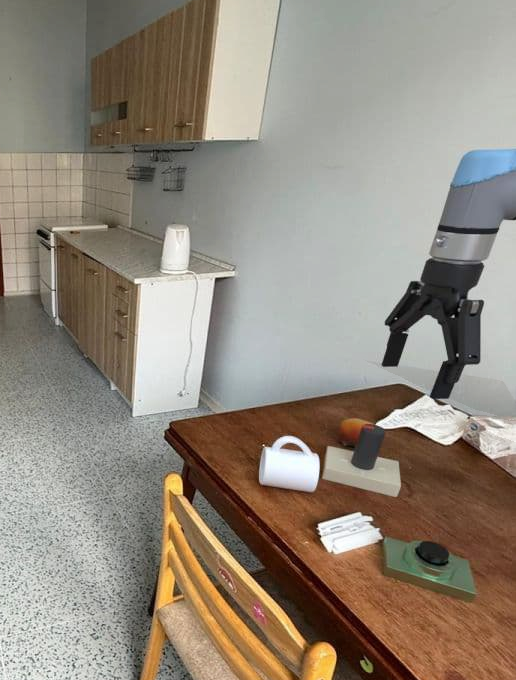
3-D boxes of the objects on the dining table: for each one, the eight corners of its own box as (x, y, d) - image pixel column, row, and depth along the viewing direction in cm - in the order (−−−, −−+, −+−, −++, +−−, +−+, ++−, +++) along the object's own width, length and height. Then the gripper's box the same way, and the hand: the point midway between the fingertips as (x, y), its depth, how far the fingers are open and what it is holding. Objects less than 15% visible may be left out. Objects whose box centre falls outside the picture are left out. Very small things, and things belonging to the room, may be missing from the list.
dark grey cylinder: (373, 461, 104) (386, 425, 100) (373, 472, 101) (386, 435, 96) (351, 456, 106) (362, 420, 101) (350, 466, 102) (362, 430, 98)
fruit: (333, 445, 113) (343, 413, 113) (334, 446, 120) (343, 416, 119) (372, 455, 109) (382, 422, 109) (370, 456, 116) (380, 425, 115)
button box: (463, 569, 81) (472, 552, 79) (471, 603, 75) (481, 586, 73) (382, 545, 86) (388, 528, 84) (383, 575, 80) (390, 558, 78)
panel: (394, 472, 105) (398, 460, 104) (396, 497, 98) (401, 485, 96) (324, 456, 112) (328, 445, 110) (321, 478, 104) (325, 467, 102)
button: (443, 553, 79) (447, 545, 78) (447, 569, 76) (451, 561, 75) (415, 545, 81) (418, 537, 80) (417, 560, 78) (421, 553, 77)
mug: (312, 500, 98) (326, 452, 92) (259, 492, 100) (269, 444, 95) (307, 477, 104) (320, 431, 99) (258, 470, 107) (267, 424, 102)
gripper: (384, 246, 86) (353, 355, 96) (495, 278, 64) (440, 414, 74) (426, 245, 86) (390, 354, 96) (551, 276, 64) (488, 413, 74)
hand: (412, 381), depth 85 cm, fingers open, 13 cm apart
